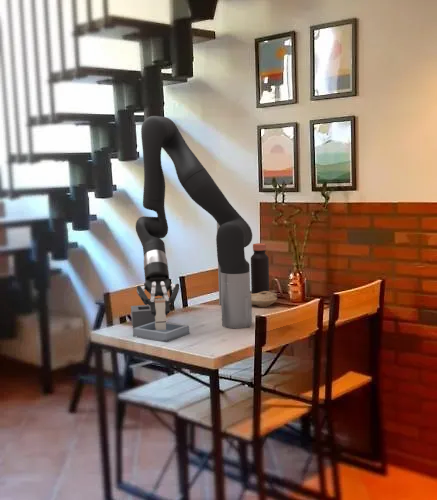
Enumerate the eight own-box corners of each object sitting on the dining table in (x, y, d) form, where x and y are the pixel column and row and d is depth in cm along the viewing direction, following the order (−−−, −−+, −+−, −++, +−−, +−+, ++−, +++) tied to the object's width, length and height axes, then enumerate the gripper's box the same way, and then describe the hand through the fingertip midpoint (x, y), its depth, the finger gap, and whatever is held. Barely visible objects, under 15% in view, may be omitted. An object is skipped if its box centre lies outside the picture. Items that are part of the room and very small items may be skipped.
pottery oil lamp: (241, 302, 252) (248, 284, 253) (272, 314, 250) (279, 296, 251) (239, 299, 243) (246, 280, 244) (271, 311, 241) (278, 292, 242)
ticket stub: (165, 326, 213) (164, 297, 212) (166, 329, 209) (165, 300, 208) (155, 327, 212) (154, 298, 211) (156, 330, 208) (155, 301, 207)
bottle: (272, 296, 263) (271, 244, 261) (257, 298, 260) (256, 245, 257) (263, 293, 269) (262, 242, 266) (248, 295, 266) (246, 244, 263)
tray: (189, 333, 212) (189, 325, 211) (166, 342, 203) (165, 333, 202) (156, 328, 219) (156, 320, 219) (133, 336, 210) (132, 328, 210)
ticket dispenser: (155, 320, 230) (155, 304, 229) (158, 327, 221) (157, 310, 220) (131, 322, 228) (130, 305, 228) (132, 328, 220) (132, 311, 219)
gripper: (133, 261, 214) (137, 309, 204) (178, 259, 216) (184, 306, 206) (133, 275, 220) (137, 322, 210) (177, 273, 222) (183, 319, 212)
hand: (160, 314), depth 208 cm, fingers closed on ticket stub, 3 cm apart
